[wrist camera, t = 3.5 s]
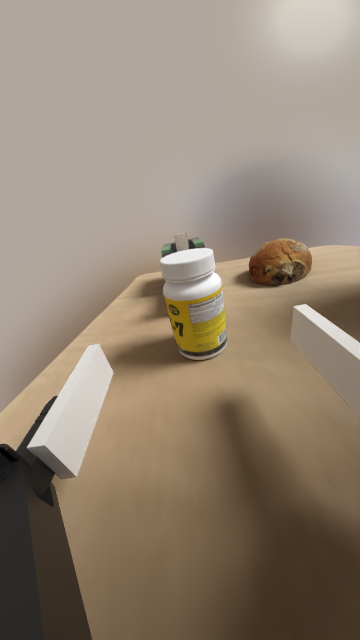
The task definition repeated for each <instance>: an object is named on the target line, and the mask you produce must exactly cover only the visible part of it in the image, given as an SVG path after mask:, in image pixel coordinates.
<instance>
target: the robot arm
mask: <svg viewBox="0 0 360 640" xmlns="http://www.w3.org/2000/svg"><path fill="white" fill-rule="evenodd" d="M290 341H291V342H292V343H293V344H294V345H295V347H296V348H297V349H298V350H299V351H300V352H301V353H302V354H303V355H304V357H305V358H306V359H307V360H308V361H309V362H310V363H311V364H312V366H313V367H314V368H315V369H316V370H317V371H318V372H319V373H320V374H321V376H322V377H323V378H324V379H325V380H326V381H327V382H328V383H329V385H330V386H331V387H332V388H333V389H334V390H335V391H336V392H337V393H338V395H339V396H340V397H341V398H342V399H343V400H344V401H345V402H346V403H347V405H348V406H349V407H350V408H351V409H352V410H353V411H354V412H355V414H356V415H357V416H358V417H359V418H360V342H358V341H357V340H355V339H354V338H352V337H351V336H350V335H348V334H347V333H345V332H344V331H343V330H341V329H340V328H338V327H337V326H336V325H334V324H333V323H331V322H330V321H329V320H327V319H326V318H324V317H323V316H322V315H320V314H319V313H317V312H316V311H315V310H313V309H312V308H310V307H309V306H308V305H306V304H303V305H298V306H293V316H292V327H291V337H290ZM113 373H114V372H113V371H112V369H111V367H110V365H109V363H108V361H107V359H106V357H105V355H104V353H103V351H102V349H101V347H100V345H99V344H96V345H90V346H88V347H87V349H86V351H85V352H84V354H83V356H82V357H81V359H80V361H79V362H78V364H77V365H76V367H75V369H74V370H73V372H72V374H71V375H70V377H69V379H68V380H67V382H66V384H65V385H64V387H63V389H62V390H61V392H60V394H59V395H58V396H54V397H53V398H52V399H51V400H50V401H49V402H48V403H47V404H46V405H45V407H44V408H43V410H42V411H41V413H40V416H38V418H37V419H36V421H35V424H33V426H32V427H31V429H30V430H29V432H28V433H27V435H26V436H25V438H24V440H23V441H22V443H21V444H20V446H19V447H18V449H17V451H15V450H13V449H12V448H11V447H10V446H9V445H7V444H0V640H92V637H91V633H90V629H89V625H88V621H87V617H86V613H85V609H84V605H83V601H82V597H81V593H80V589H79V584H78V580H77V576H76V572H75V568H74V564H73V560H72V556H71V552H70V548H69V544H68V540H67V536H66V532H65V528H64V524H63V519H62V515H61V511H60V507H59V503H58V499H57V495H56V491H55V487H54V485H53V483H52V482H51V481H52V478H53V476H54V474H56V475H57V476H58V477H59V478H60V479H66V478H73V477H77V475H78V472H79V469H80V466H81V463H82V461H83V458H84V455H85V452H86V449H87V446H88V444H89V441H90V438H91V435H92V432H93V429H94V427H95V424H96V421H97V418H98V415H99V412H100V410H101V407H102V404H103V401H104V398H105V396H106V393H107V390H108V387H109V384H110V381H111V379H112V376H113Z"/></svg>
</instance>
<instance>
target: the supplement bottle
mask: <svg viewBox="0 0 360 640" xmlns="http://www.w3.org/2000/svg"><path fill="white" fill-rule="evenodd" d="M160 265H161V270H162V276H163V277H164V280H165V281H167V282H166V283H165V284H164V286H163V295H164V299H165V303H166V306H167V310H168V314H169V318H170V322H171V326H172V329H173V333H174V337H175V341H176V345H177V348H178V350H179V352H180V353H181V354H182V355H183V356H185V357H187V358H189V359H193V360H204V359H209V358H212V357H214V356H216V355H218V354H219V353H221V352H222V351H223V350H224V349H225V347H226V345H227V332H226V322H225V312H224V302H223V292H222V283H221V279H220V277H219V276H218V275H217V274H216V273H214V270H215V263H214V256H213V251H212V250H211V249H208V248H196V249H189V250H184V251H179V252H176V253H173V254H170V255H167V256H165V257H163V258H162V259H161V260H160Z"/></svg>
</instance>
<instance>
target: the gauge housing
mask: <svg viewBox="0 0 360 640" xmlns="http://www.w3.org/2000/svg"><path fill="white" fill-rule="evenodd" d="M188 246H189V249H196V248H205V246H204V243H203V241H202V240H201V239H199V238H198V237H197V238H192V239H188ZM176 252H177V248H176V243H175V242H174V243H170V244H165V245H164V247H163V248H162V257H165V256H167V255H170V254H173V253H176Z"/></svg>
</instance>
